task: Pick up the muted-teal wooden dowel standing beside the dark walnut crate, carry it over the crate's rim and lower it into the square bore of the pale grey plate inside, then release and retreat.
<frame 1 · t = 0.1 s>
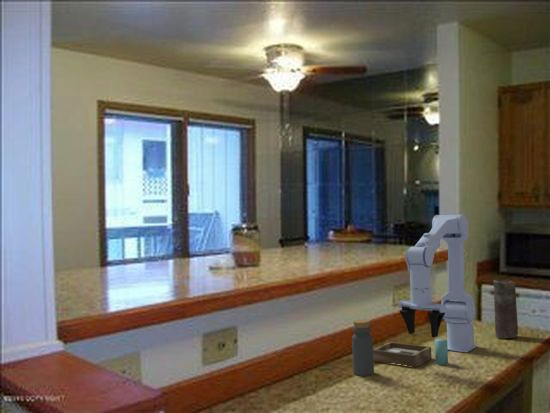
hand: (423, 335, 164), 10 cm above the counter, fingers open, 7 cm apart
candle: (506, 337, 197), on the counter
crate: (401, 359, 175), on the counter
bottle: (363, 373, 163), on the counter
peg: (441, 363, 169), on the counter
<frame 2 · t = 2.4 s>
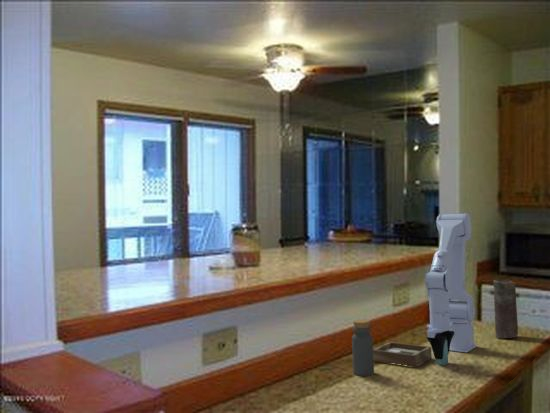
hand: (441, 357, 169), 2 cm above the counter, fingers closed on peg, 4 cm apart
peg: (441, 363, 169), on the counter, touching gripper
everything else where it was.
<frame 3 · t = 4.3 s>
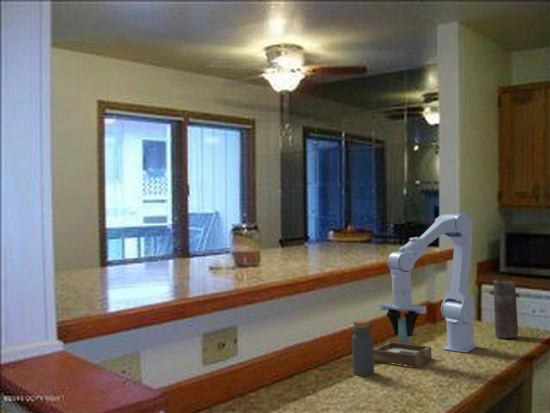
hand: (403, 335, 174), 8 cm above the counter, fingers closed on peg, 4 cm apart
peg: (404, 341, 174), point 6 cm above the counter, touching gripper
everything else where it was.
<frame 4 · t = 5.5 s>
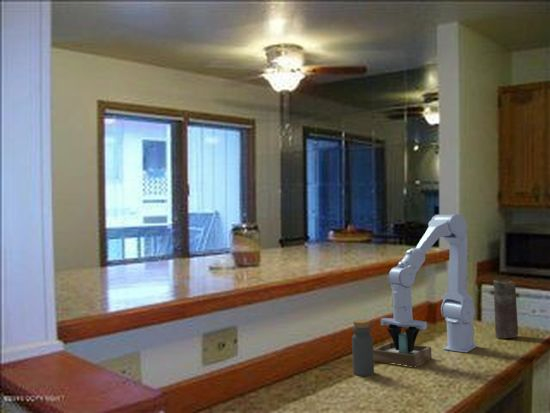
hand: (404, 350, 174), 3 cm above the counter, fingers closed on peg, 4 cm apart
peg: (405, 357, 174), point 1 cm above the counter, touching gripper
everything else where it was.
when the fingers open (3 cm above the counter, at t = 6.2 s): peg stays where it is, resting in crate.
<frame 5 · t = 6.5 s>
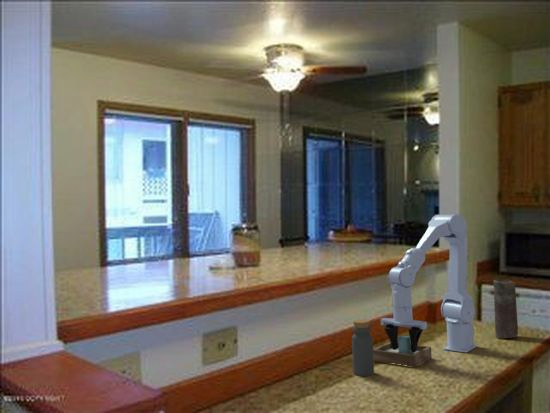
hand: (404, 350, 174), 3 cm above the counter, fingers open, 6 cm apart
peg: (405, 360, 174), resting in crate
everything else where it was.
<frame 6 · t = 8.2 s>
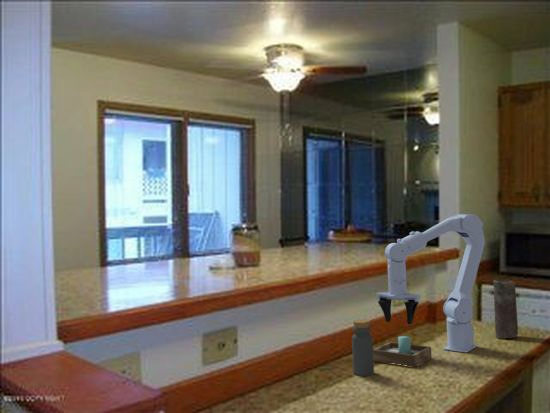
hand: (399, 322, 183), 10 cm above the counter, fingers open, 7 cm apart
nothing on the counter moved.
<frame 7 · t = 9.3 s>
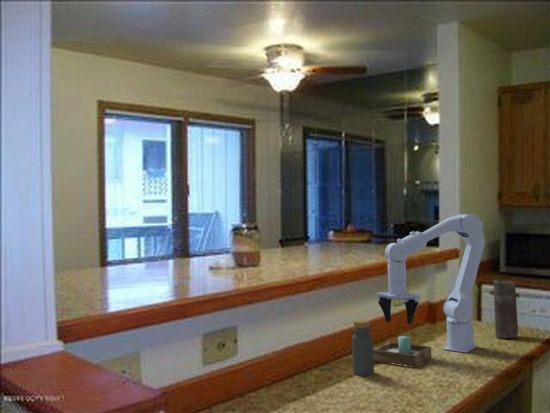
hand: (399, 322, 183), 10 cm above the counter, fingers open, 7 cm apart
nothing on the counter moved.
at the end: peg 0.2 cm from the target spot on the crate, point 0.0 cm above the crate's base; peg tilted 0°; the gripper is holding nothing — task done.
